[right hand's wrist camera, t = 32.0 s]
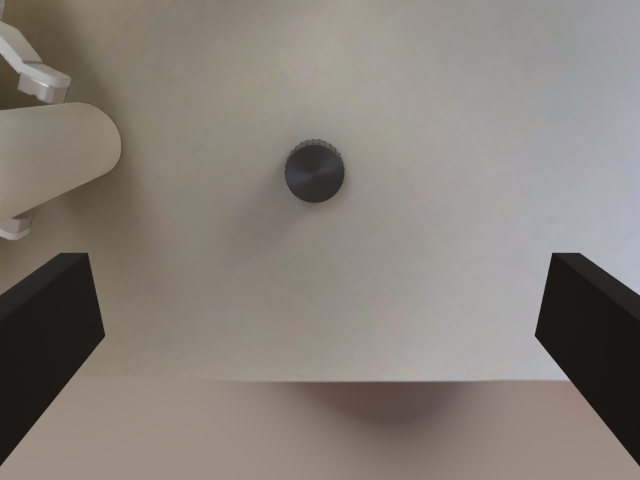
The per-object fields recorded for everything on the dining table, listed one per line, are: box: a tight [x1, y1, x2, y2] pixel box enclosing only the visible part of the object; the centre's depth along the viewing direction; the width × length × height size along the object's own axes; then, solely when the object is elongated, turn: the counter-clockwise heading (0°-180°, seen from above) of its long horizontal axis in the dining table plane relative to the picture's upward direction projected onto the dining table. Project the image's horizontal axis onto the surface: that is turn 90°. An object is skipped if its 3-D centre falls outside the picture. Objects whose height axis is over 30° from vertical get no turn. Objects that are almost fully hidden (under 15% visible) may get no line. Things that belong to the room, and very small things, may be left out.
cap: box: [285, 139, 344, 203], centre depth 31 cm, size 4×4×2 cm
